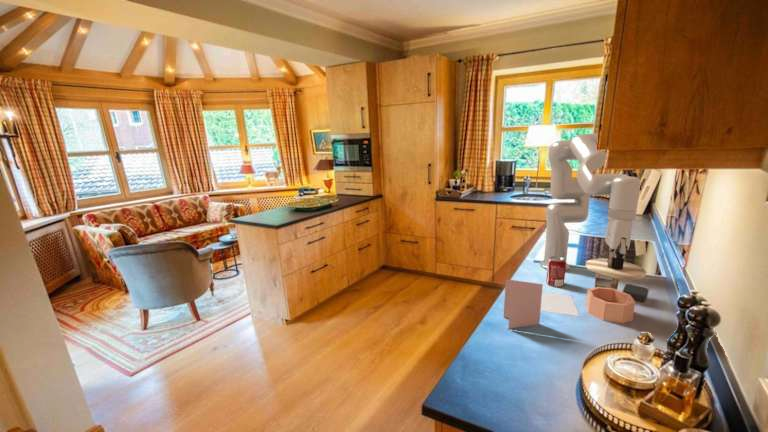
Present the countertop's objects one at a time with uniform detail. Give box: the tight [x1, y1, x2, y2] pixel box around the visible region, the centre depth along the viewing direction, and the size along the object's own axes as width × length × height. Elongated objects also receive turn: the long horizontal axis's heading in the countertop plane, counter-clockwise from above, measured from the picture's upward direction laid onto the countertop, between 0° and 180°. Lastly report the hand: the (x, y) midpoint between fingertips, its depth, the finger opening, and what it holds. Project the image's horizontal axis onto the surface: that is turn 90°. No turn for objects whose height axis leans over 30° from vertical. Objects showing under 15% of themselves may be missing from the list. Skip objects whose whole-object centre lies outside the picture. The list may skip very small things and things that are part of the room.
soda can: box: [545, 256, 567, 288], centre depth 139 cm, size 7×7×12 cm
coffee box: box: [593, 250, 620, 290], centre depth 130 cm, size 9×6×16 cm
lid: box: [585, 251, 647, 281], centre depth 112 cm, size 17×17×6 cm
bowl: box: [585, 287, 636, 324], centre depth 116 cm, size 13×13×7 cm
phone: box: [622, 283, 648, 303], centre depth 131 cm, size 7×1×15 cm
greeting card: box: [503, 279, 544, 331], centre depth 109 cm, size 11×7×15 cm, turn 66°
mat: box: [540, 291, 580, 317], centre depth 125 cm, size 16×16×1 cm
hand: (614, 265), depth 112 cm, fingers closed on lid, 4 cm apart
